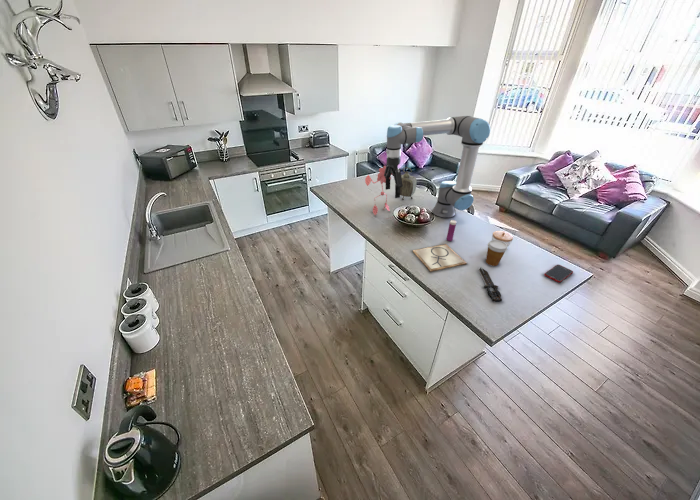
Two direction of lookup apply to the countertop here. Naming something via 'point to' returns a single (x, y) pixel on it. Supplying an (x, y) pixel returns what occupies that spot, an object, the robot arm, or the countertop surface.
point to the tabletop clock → (408, 185)
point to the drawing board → (439, 257)
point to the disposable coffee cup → (495, 252)
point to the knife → (491, 286)
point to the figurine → (382, 179)
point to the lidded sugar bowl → (502, 237)
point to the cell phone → (558, 273)
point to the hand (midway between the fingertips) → (392, 193)
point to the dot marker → (451, 230)
